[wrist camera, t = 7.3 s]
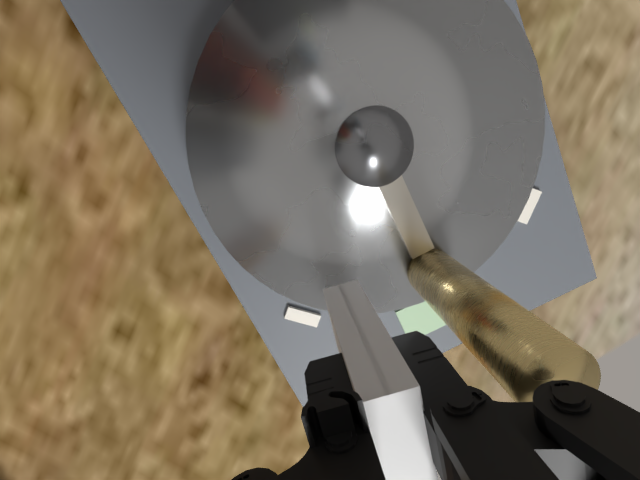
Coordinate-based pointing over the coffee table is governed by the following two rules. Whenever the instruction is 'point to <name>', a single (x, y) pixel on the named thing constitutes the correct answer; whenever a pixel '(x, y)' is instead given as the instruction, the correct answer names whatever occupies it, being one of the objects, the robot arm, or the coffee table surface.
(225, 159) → the crank wheel
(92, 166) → the coffee table surface
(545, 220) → the record turntable
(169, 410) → the coffee table surface
